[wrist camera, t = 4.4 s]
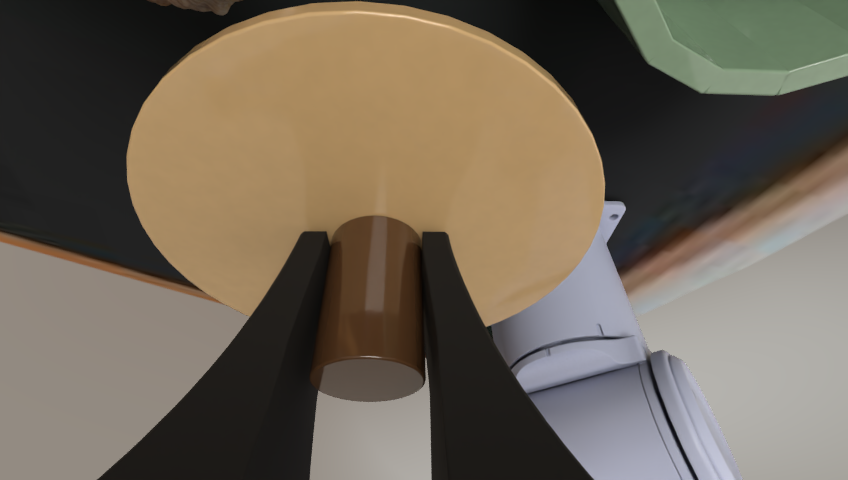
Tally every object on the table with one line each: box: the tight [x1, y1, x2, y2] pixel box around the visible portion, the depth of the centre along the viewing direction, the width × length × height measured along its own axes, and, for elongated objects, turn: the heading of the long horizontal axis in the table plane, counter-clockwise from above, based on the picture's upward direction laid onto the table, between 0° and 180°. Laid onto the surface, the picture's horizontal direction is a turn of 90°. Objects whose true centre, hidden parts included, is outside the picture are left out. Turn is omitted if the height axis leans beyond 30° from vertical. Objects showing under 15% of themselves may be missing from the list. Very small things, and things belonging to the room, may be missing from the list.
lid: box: [127, 1, 605, 402], centre depth 11 cm, size 13×13×5 cm
